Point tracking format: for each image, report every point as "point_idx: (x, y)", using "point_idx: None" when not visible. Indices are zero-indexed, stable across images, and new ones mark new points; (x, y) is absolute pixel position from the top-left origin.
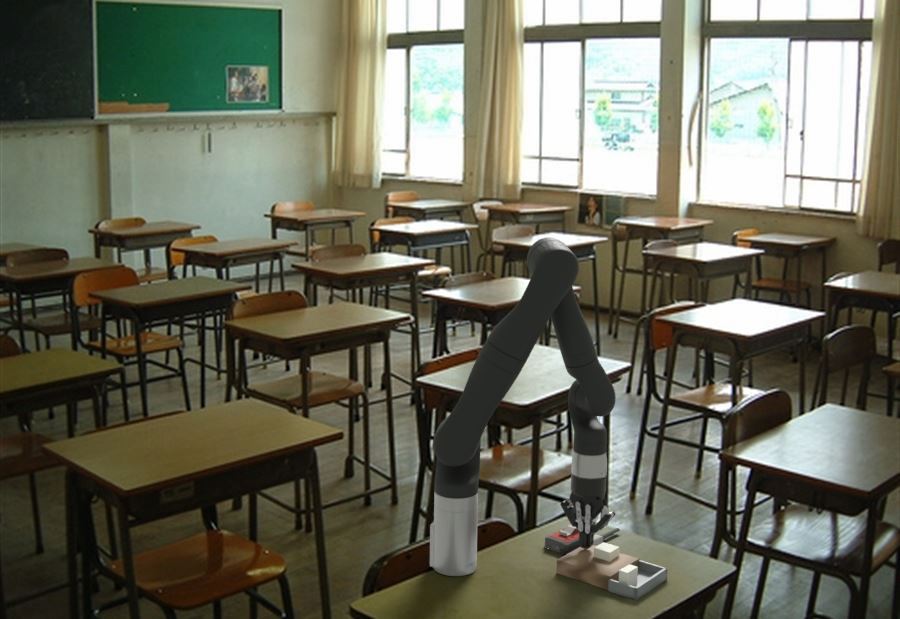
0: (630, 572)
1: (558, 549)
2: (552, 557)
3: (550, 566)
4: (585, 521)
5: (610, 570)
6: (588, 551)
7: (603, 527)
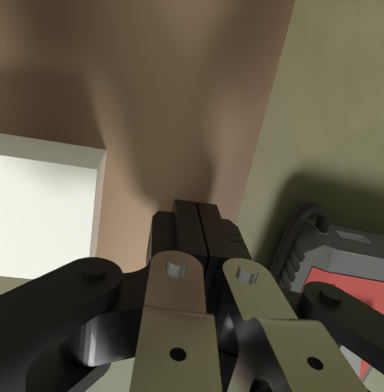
0: None
1: (336, 232)
2: (342, 165)
3: (327, 55)
4: (202, 319)
5: None
6: (164, 203)
7: (44, 359)
